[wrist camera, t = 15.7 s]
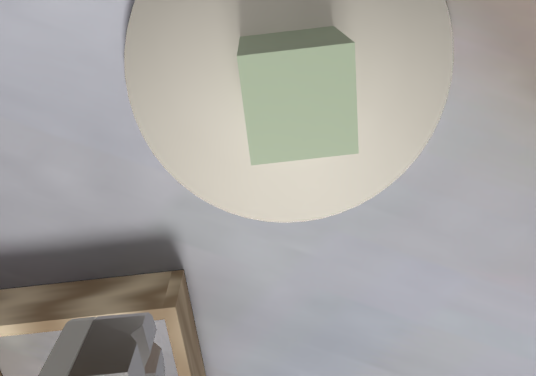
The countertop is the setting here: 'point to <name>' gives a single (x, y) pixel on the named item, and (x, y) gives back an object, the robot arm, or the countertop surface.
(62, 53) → the countertop surface
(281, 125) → the block
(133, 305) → the wooden frame
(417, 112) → the white round dish
